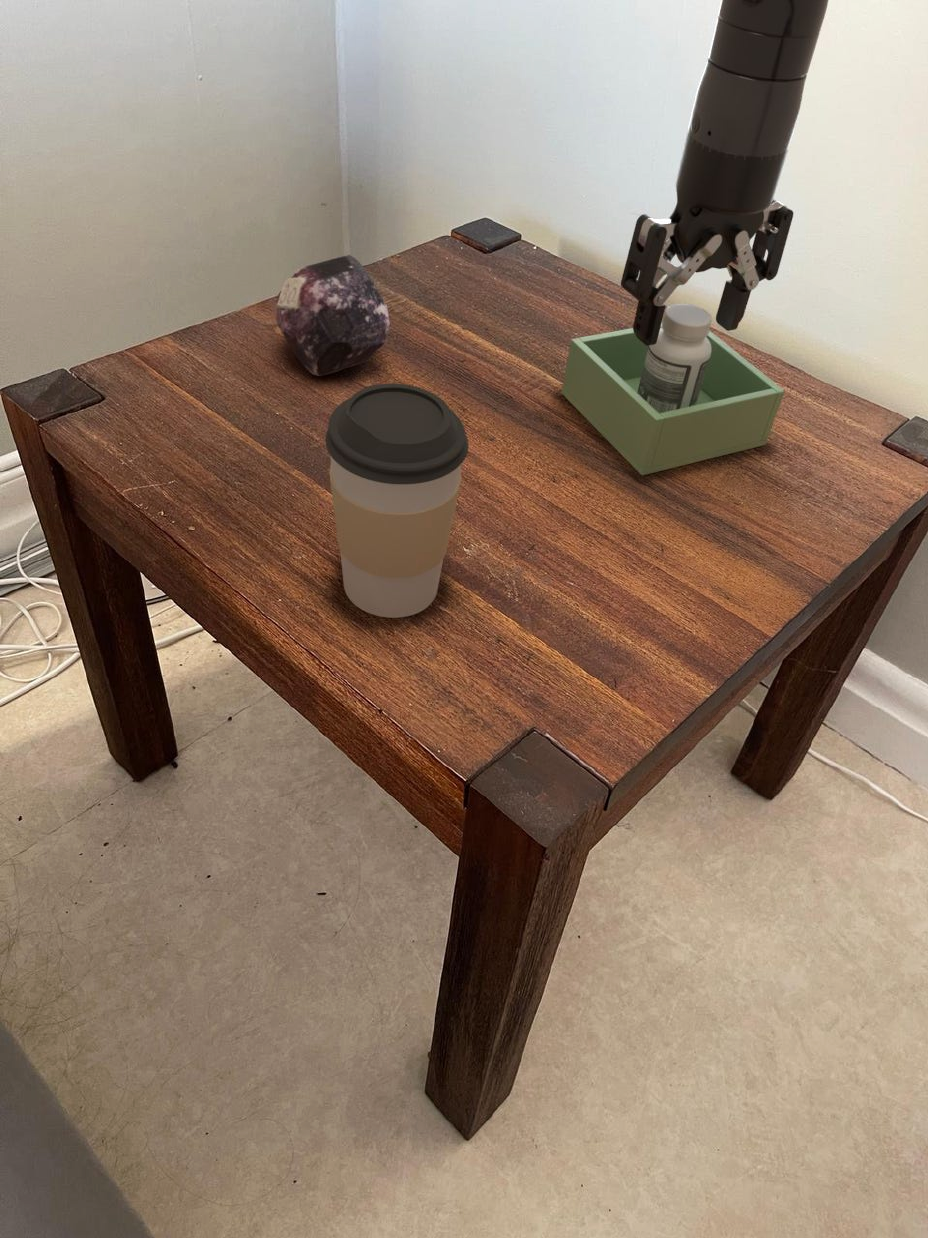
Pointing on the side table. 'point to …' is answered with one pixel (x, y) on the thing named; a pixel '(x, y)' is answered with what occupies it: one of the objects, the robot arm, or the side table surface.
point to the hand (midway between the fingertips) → (686, 333)
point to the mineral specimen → (332, 315)
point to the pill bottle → (677, 359)
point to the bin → (717, 425)
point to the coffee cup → (394, 494)
